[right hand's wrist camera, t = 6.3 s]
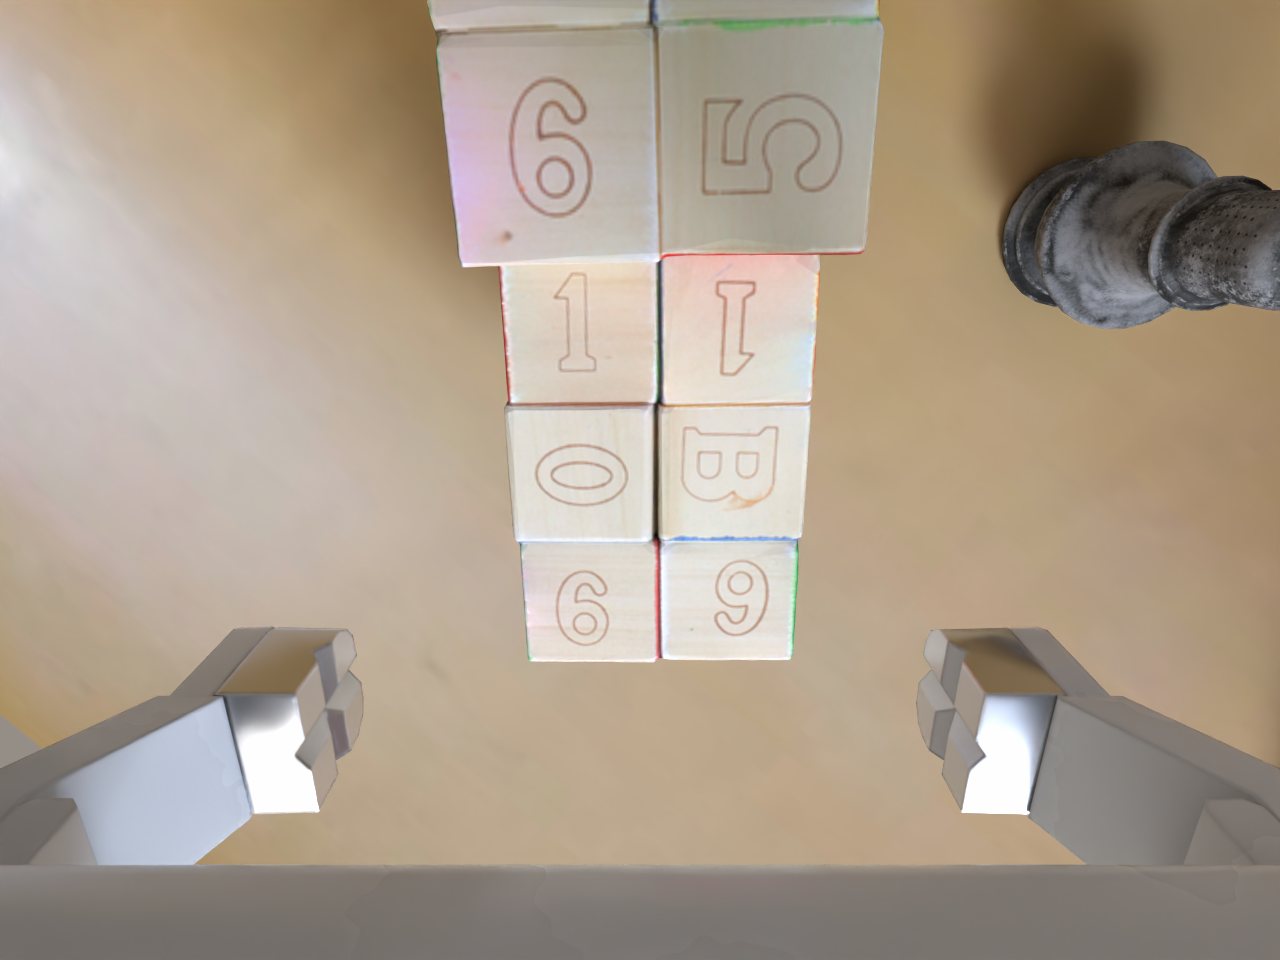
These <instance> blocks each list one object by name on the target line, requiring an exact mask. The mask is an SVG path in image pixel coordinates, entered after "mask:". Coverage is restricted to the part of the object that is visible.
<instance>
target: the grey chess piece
mask: <svg viewBox="0 0 1280 960" xmlns="http://www.w3.org/2000/svg"><path fill="white" fill-rule="evenodd" d="M1002 252H1003V261H1004V265H1005V268H1006V270H1007V273H1008V275H1009V277H1010V280H1011V281H1012V282H1013V283H1014V285H1015V286H1016V287H1017V288H1018V289H1019V291H1020V292H1021V293H1022V294H1024V295H1026V296H1027V297H1029V298H1031V299H1032V300H1034V301H1035V302H1039V303H1042V304H1046V305H1050V306H1054V307H1059V308H1060V309H1061V310H1062V312H1064V313H1065V314H1067V315H1069V316H1070V317H1072V318H1073V319H1075V320H1077V321H1078V322H1080V323H1083V324H1087V325H1090V326H1094V327H1098V328H1102V329H1112V328H1128V327H1132V326H1136V325H1139V324H1143V323H1147V322H1150V321H1151V320H1153V319H1155V318H1157V317H1159V316H1161V315H1163V314H1165V313H1166V312H1168V311H1170V310H1172V309H1173V308H1174V307H1179V308H1183V309H1187V310H1191V311H1199V310H1211V309H1214V308H1218V307H1222V306H1225V305H1227V304H1229V303H1233V304H1239V305H1245V306H1250V307H1256V308H1262V309H1267V310H1280V190H1272V189H1271V188H1269V187H1268V186H1266V185H1265V184H1263V183H1262V182H1261V181H1259V180H1256V179H1253V178H1249V177H1245V176H1224V177H1220V178H1218V177H1217V176H1216V174H1215V173H1214V171H1213V170H1212V169H1211V167H1210V166H1209V165H1208V163H1207V162H1206V160H1205V159H1203V158H1202V157H1200V156H1199V155H1197V154H1196V153H1194V152H1193V151H1192V150H1190V149H1189V148H1187V147H1184V146H1181V145H1177V144H1174V143H1170V142H1166V141H1141V142H1135V143H1132V144H1128V145H1125V146H1122V147H1118V148H1115V149H1112V150H1110V151H1109V152H1107V153H1105V154H1104V155H1102V156H1100V157H1090V158H1076V159H1073V160H1069V161H1066V162H1063V163H1059V164H1057V165H1055V166H1054V167H1052V168H1050V169H1049V170H1047V171H1045V172H1043V173H1042V174H1040V175H1039V176H1038V177H1037V178H1036V179H1035V180H1034V181H1033V182H1031V183H1030V184H1029V185H1028V186H1027V187H1026V188H1025V189H1024V190H1023V192H1022V193H1021V195H1020V196H1019V198H1018V199H1017V201H1016V202H1015V204H1014V205H1013V206H1012V209H1011V211H1010V214H1009V216H1008V219H1007V221H1006V224H1005V226H1004V233H1003V240H1002Z"/></svg>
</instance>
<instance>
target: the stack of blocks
mask: <svg viewBox="0 0 1280 960" xmlns="http://www.w3.org/2000/svg"><path fill="white" fill-rule="evenodd" d="M427 3H428V8H429V12H430V17H431V20H432V23H433V26H434V29H435V32H436V35H437V50H436V62H437V71H438V80H439V89H440V97H441V106H442V115H443V123H444V132H445V141H446V150H447V159H448V168H449V178H450V187H451V195H452V204H453V212H454V220H455V228H456V236H457V248H458V258H459V260H460V263H461V266H462V267H482V266H498V268H499V280H500V294H501V308H502V321H503V335H504V348H505V364H506V379H507V391H508V402H507V404H506V406H505V408H504V409H505V426H506V443H507V460H508V474H509V486H510V498H511V509H512V521H513V533H514V538H515V539H516V541H518V542H519V543H520V547H521V570H522V584H523V596H524V612H525V623H526V639H527V653H528V658H529V661H564V662H576V661H605V662H654V661H656V660H657V659H659V658H665V659H672V660H735V659H739V660H789V659H790V658H791V657H792V653H793V648H794V628H795V611H796V594H797V583H798V539H799V538H800V537H801V536H802V530H803V521H804V505H805V491H806V475H807V459H808V443H809V428H810V414H811V411H810V401H811V397H812V392H813V386H814V369H815V356H816V338H817V314H818V297H819V280H820V255H850V254H861V253H862V252H863V251H865V250H866V240H867V230H868V217H869V204H870V190H871V178H872V166H873V153H874V140H875V128H876V117H877V105H878V93H879V82H880V70H881V58H882V46H883V34H884V29H883V26H882V23H881V20H880V17H879V4H880V0H427Z"/></svg>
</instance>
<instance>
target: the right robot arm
mask: <svg viewBox="0 0 1280 960" xmlns="http://www.w3.org/2000/svg"><path fill="white" fill-rule="evenodd" d="M356 656H357V654H356V649H355V644H354V639H353V635H352V634H351V633H350V632H349V631H348V630H347V629H336V628H286V627H278V628H274V627H242V628H238V629H233V630H232V631H231V632H230V633H229V635H228V636H227V637H226V638H225V639H224V640H223V641H222V642H221V643H220V644H219V645H218V646H217V647H216V648H215V649H214V650H213V651H212V652H211V653H210V654H209V655H208V656H207V657H206V659H205V660H204V661H203V662H202V663H201V664H200V665H199V666H198V667H197V668H196V669H195V670H194V671H193V672H192V673H191V674H190V675H189V676H188V677H187V678H186V679H185V680H184V682H183V683H182V684H181V685H180V686H179V687H178V688H177V689H176V690H175V691H174V692H173V693H172V694H171V695H170V696H157V697H155V698H152V699H150V700H148V701H146V702H144V703H142V704H139V705H137V706H135V707H133V708H131V709H129V710H126V711H124V712H122V713H120V714H118V715H116V716H113V717H111V718H109V719H107V720H105V721H102V722H100V723H98V724H96V725H94V726H92V727H89V728H87V729H85V730H83V731H81V732H79V733H76V734H74V735H72V736H70V737H68V738H66V739H63V740H61V741H59V742H57V743H55V744H53V745H50V746H48V747H46V748H44V749H42V750H40V751H37V752H35V753H33V754H31V755H29V756H27V757H24V758H22V759H20V760H18V761H16V762H14V763H11V764H9V765H7V766H5V767H3V768H0V960H1280V769H1279V768H1277V767H1275V766H1273V765H1270V764H1268V763H1266V762H1264V761H1262V760H1260V759H1257V758H1255V757H1253V756H1251V755H1249V754H1247V753H1244V752H1242V751H1240V750H1238V749H1236V748H1234V747H1231V746H1229V745H1227V744H1225V743H1223V742H1221V741H1218V740H1216V739H1214V738H1212V737H1210V736H1208V735H1205V734H1203V733H1201V732H1199V731H1197V730H1195V729H1193V728H1190V727H1188V726H1186V725H1184V724H1182V723H1180V722H1177V721H1175V720H1173V719H1171V718H1169V717H1167V716H1164V715H1162V714H1160V713H1158V712H1156V711H1154V710H1151V709H1149V708H1147V707H1145V706H1143V705H1141V704H1138V703H1136V702H1134V701H1132V700H1130V699H1128V698H1125V697H1123V696H1110V695H1109V694H1108V693H1107V692H1106V691H1105V690H1104V689H1103V688H1102V687H1101V686H1100V685H1099V684H1098V682H1097V681H1096V680H1095V679H1094V678H1093V677H1092V676H1091V675H1090V674H1089V673H1088V672H1087V671H1086V670H1085V669H1084V668H1083V667H1082V666H1081V665H1080V664H1079V663H1078V662H1077V661H1076V659H1075V658H1074V657H1073V656H1072V655H1071V654H1070V653H1069V652H1068V651H1067V650H1066V649H1065V648H1064V647H1063V646H1062V645H1061V644H1060V643H1059V642H1058V641H1057V640H1056V639H1055V637H1054V636H1053V635H1052V634H1051V633H1050V632H1049V631H1048V630H1046V629H1043V628H1041V627H1013V628H986V629H946V630H930V632H929V635H928V637H927V639H926V643H925V648H924V654H923V656H924V658H925V659H926V661H927V663H928V664H929V666H930V668H931V669H932V670H931V671H930V672H929V673H928V674H927V675H926V676H925V677H924V678H923V679H922V680H921V681H920V682H919V686H918V694H917V702H916V704H917V715H918V724H919V727H920V730H921V734H922V737H923V739H924V741H925V743H926V745H927V747H928V749H929V751H931V752H932V753H934V754H935V755H937V756H938V757H940V758H941V759H943V760H944V764H943V770H942V776H943V778H944V780H945V781H946V783H947V785H948V787H949V789H950V791H951V793H952V795H953V796H954V798H955V800H956V802H957V804H958V806H959V808H960V810H961V811H962V812H967V813H1003V814H1029V816H1028V817H1029V818H1030V819H1031V820H1032V821H1034V822H1035V823H1036V824H1037V825H1039V826H1040V827H1041V828H1042V829H1044V830H1045V831H1046V832H1047V833H1049V834H1050V835H1051V836H1052V837H1054V838H1055V839H1056V840H1057V841H1059V842H1060V843H1061V844H1062V845H1064V846H1065V847H1066V848H1067V849H1069V850H1070V851H1071V852H1072V853H1074V854H1075V855H1076V856H1077V857H1079V858H1080V859H1081V860H1082V861H1084V862H1085V863H1086V864H1087V865H193V864H194V863H195V862H197V861H198V860H199V859H200V858H202V857H203V856H204V855H205V854H207V853H208V852H209V851H210V850H212V849H213V848H214V847H215V846H217V845H218V844H219V843H220V842H222V841H223V840H224V839H225V838H227V837H228V836H229V835H230V834H232V833H233V832H234V831H235V830H237V829H238V828H239V827H240V826H242V825H243V824H244V823H245V822H247V821H248V820H249V819H250V818H251V817H252V816H251V814H276V813H311V812H319V810H320V808H321V806H322V804H323V802H324V800H325V798H326V797H327V795H328V793H329V791H330V789H331V787H332V785H333V783H334V781H335V780H336V778H337V776H338V770H337V764H336V760H337V759H339V758H340V757H342V756H343V755H345V754H346V753H348V752H349V751H351V749H352V747H353V745H354V743H355V741H356V739H357V737H358V735H359V730H360V726H361V721H362V717H363V692H362V685H361V682H360V681H359V680H358V679H357V678H356V677H355V676H354V675H353V674H352V673H351V672H350V671H349V670H348V669H349V668H350V666H351V664H352V663H353V661H354V659H355V658H356Z"/></svg>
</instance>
